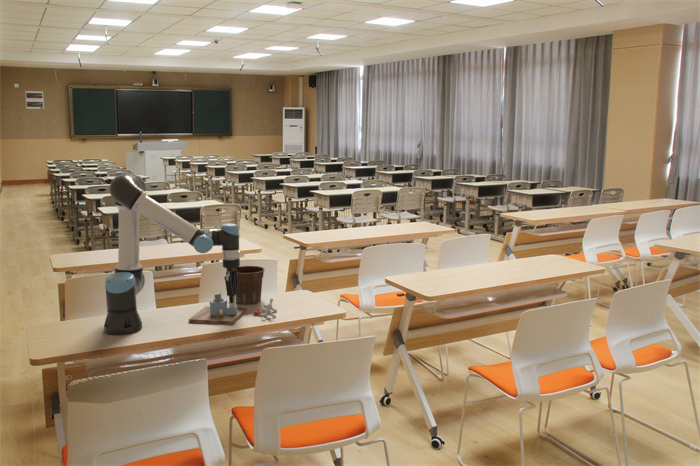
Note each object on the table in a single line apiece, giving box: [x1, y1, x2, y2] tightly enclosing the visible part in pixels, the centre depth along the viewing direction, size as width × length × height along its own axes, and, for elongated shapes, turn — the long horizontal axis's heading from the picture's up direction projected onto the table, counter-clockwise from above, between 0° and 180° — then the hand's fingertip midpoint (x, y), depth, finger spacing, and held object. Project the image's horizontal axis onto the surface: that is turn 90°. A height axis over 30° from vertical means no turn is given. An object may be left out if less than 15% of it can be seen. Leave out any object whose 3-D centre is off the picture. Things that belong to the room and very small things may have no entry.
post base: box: [188, 292, 248, 325], centre depth 267 cm, size 20×20×10 cm
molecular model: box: [253, 298, 278, 319], centre depth 270 cm, size 14×8×10 cm
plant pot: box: [235, 265, 266, 305], centre depth 291 cm, size 16×16×16 cm
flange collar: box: [209, 297, 237, 316], centre depth 266 cm, size 12×7×6 cm, turn 82°
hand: (232, 309), depth 269 cm, fingers closed
